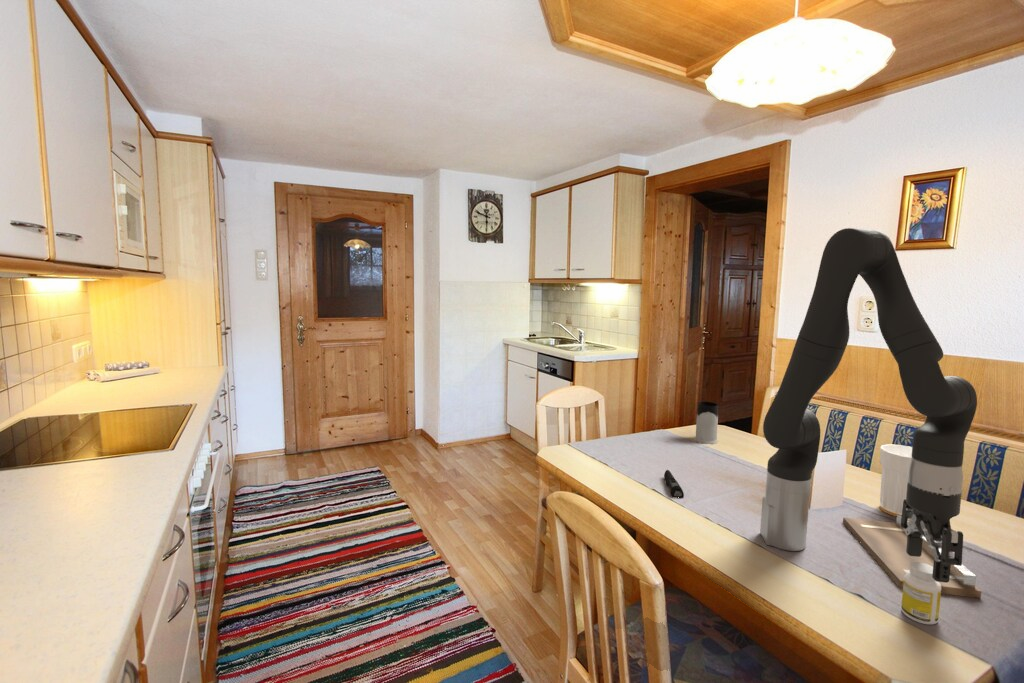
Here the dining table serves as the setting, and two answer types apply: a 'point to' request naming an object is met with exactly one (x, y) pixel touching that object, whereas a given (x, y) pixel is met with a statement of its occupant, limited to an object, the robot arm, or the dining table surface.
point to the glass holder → (707, 423)
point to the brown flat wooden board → (897, 553)
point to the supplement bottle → (921, 594)
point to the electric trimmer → (673, 485)
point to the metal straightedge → (957, 572)
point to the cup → (894, 477)
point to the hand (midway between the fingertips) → (926, 567)
